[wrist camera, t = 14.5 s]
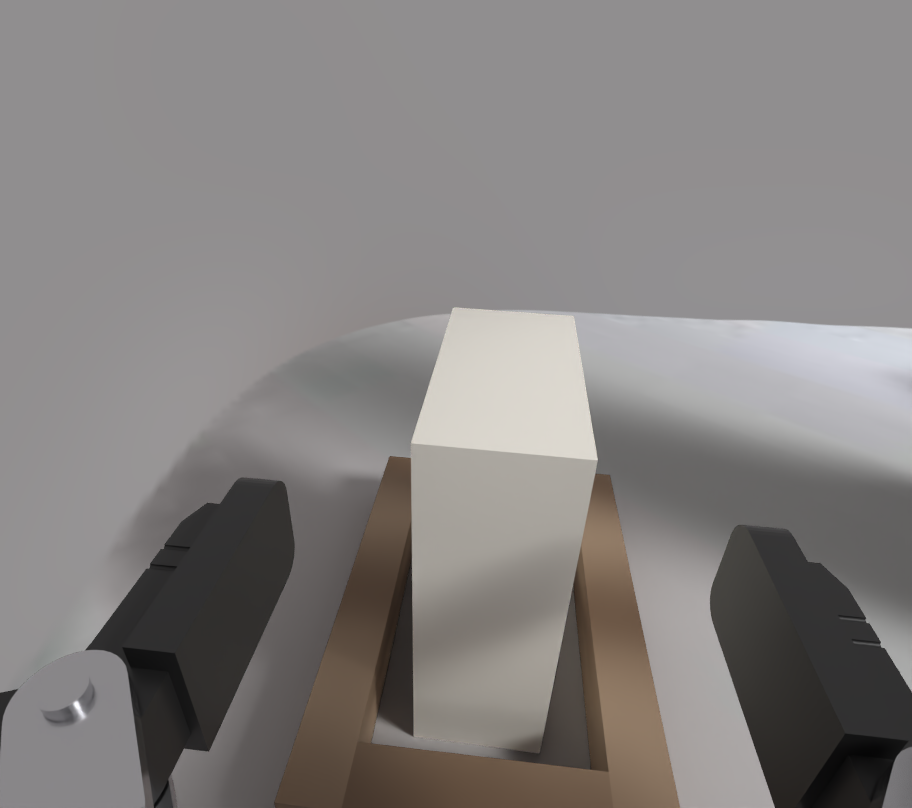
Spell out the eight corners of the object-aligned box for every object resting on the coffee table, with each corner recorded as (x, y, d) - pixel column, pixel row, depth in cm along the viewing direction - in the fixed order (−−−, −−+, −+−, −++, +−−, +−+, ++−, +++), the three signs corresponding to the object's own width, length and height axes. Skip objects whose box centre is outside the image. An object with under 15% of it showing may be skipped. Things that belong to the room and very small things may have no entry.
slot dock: (390, 493, 25) (389, 456, 24) (601, 512, 24) (609, 474, 23) (285, 844, 14) (274, 802, 13) (669, 895, 13) (689, 855, 12)
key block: (537, 563, 22) (573, 316, 17) (539, 753, 16) (597, 460, 11) (445, 553, 22) (453, 307, 17) (413, 737, 16) (410, 443, 11)
